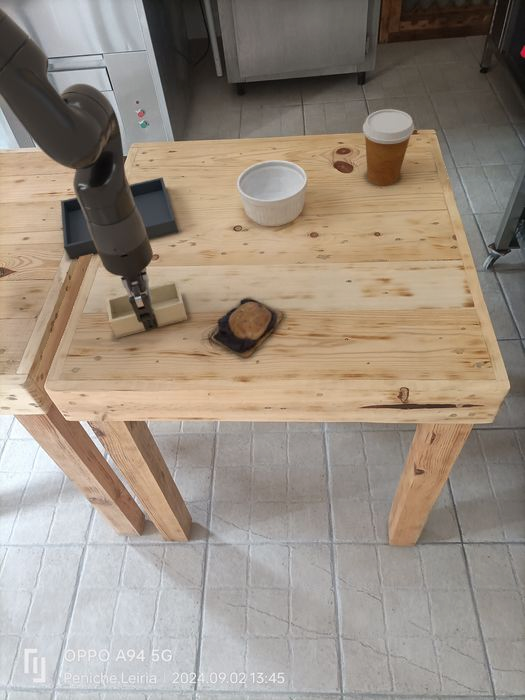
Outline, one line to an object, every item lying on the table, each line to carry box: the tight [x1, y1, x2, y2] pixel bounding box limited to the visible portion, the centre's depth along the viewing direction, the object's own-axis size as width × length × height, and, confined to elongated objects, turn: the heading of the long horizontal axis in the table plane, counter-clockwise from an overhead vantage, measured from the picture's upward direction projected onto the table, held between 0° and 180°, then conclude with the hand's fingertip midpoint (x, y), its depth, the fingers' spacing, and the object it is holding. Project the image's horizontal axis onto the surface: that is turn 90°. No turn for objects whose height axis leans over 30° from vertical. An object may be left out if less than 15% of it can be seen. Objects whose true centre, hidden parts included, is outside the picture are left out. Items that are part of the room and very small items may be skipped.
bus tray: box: [60, 176, 179, 260], centre depth 106 cm, size 21×15×3 cm
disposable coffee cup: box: [362, 108, 415, 186], centre depth 104 cm, size 10×10×12 cm
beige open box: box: [106, 280, 188, 339], centre depth 88 cm, size 12×6×4 cm, turn 106°
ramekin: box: [236, 159, 308, 227], centre depth 103 cm, size 13×13×7 cm
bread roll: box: [210, 297, 283, 359], centre depth 85 cm, size 11×8×4 cm
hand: (149, 314), depth 89 cm, fingers open, 5 cm apart
